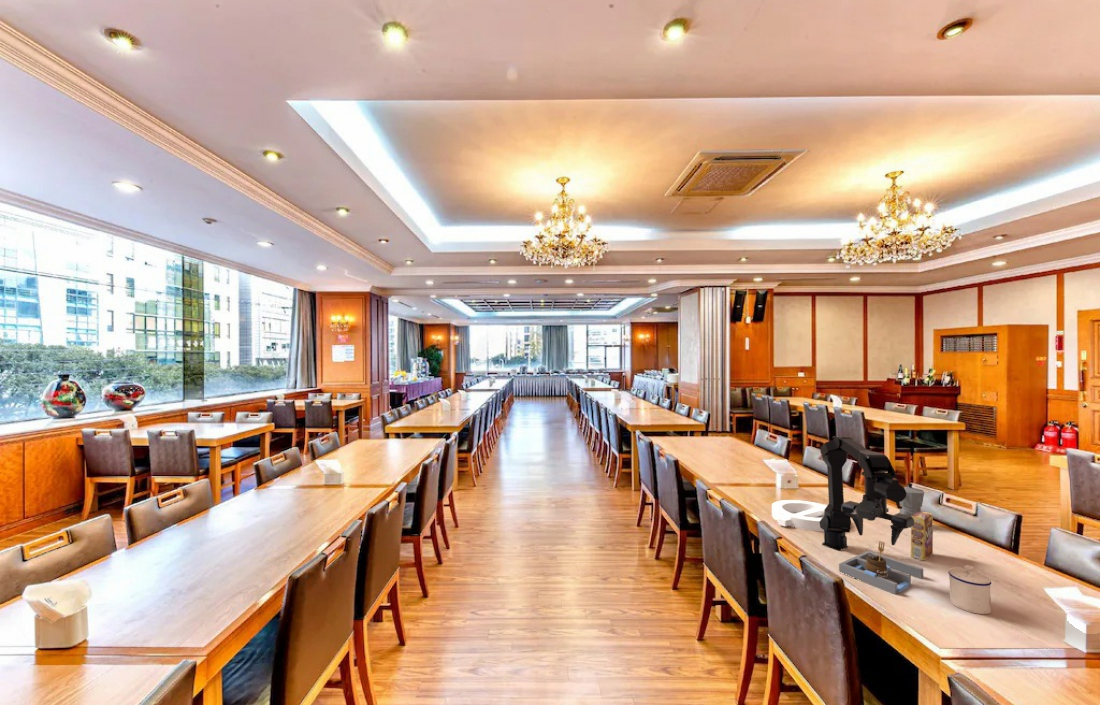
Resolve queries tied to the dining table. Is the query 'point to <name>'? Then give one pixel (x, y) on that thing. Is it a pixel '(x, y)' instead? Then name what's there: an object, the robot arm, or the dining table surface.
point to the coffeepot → (911, 501)
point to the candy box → (922, 535)
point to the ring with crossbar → (798, 514)
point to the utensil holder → (877, 563)
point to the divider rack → (857, 566)
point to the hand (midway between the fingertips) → (876, 540)
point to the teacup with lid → (970, 590)
